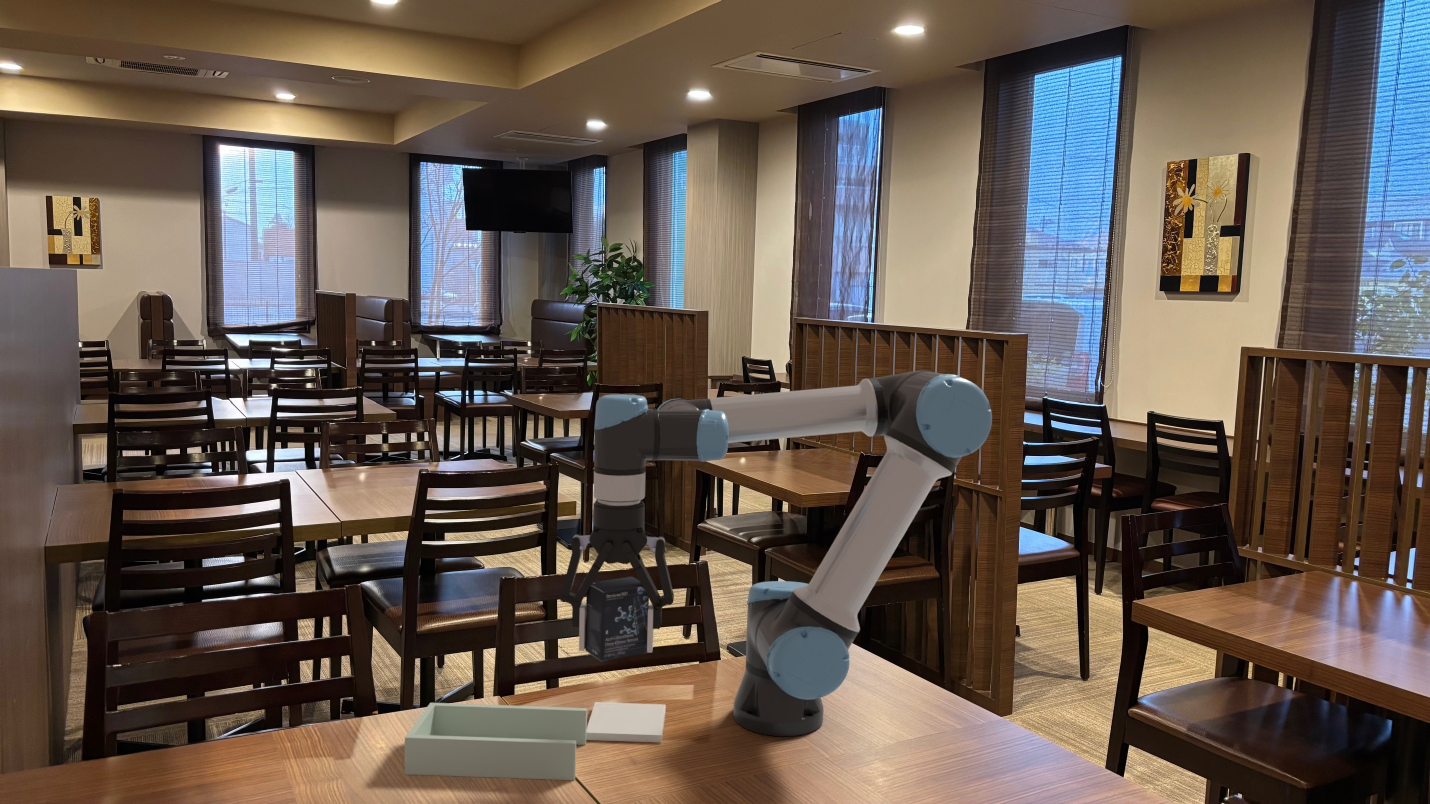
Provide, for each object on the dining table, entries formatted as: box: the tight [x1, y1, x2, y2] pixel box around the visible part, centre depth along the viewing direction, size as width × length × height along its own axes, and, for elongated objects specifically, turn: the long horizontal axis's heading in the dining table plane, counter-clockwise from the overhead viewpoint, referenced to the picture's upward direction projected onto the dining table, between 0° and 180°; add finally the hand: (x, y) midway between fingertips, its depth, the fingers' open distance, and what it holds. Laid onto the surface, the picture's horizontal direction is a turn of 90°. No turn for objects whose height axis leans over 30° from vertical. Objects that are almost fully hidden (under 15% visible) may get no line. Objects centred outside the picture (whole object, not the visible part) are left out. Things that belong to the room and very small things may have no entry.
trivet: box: [586, 701, 667, 744], centre depth 161 cm, size 12×12×1 cm
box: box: [584, 576, 650, 663], centre depth 147 cm, size 8×6×11 cm
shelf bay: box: [404, 702, 588, 781], centre depth 148 cm, size 24×12×6 cm, turn 90°
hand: (616, 648), depth 147 cm, fingers closed on box, 9 cm apart
